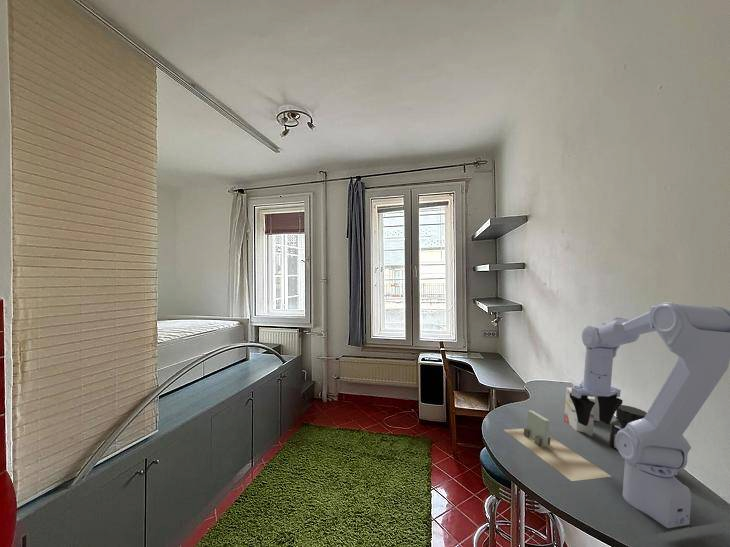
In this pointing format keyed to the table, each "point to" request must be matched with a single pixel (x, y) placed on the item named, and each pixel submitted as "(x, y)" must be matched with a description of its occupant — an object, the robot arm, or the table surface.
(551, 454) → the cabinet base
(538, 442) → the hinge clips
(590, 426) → the ink cartridge box
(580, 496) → the table surface
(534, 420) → the pale green flat block
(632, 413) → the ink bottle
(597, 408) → the small box
